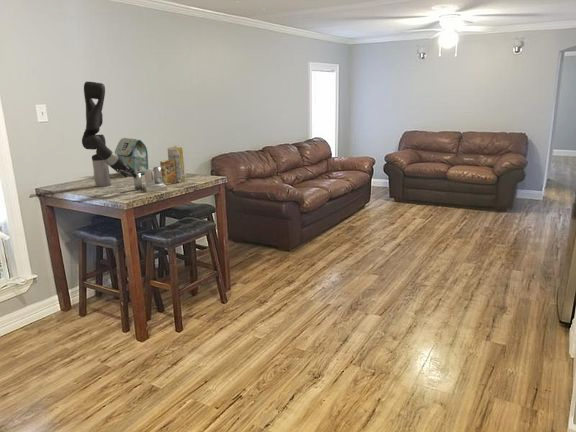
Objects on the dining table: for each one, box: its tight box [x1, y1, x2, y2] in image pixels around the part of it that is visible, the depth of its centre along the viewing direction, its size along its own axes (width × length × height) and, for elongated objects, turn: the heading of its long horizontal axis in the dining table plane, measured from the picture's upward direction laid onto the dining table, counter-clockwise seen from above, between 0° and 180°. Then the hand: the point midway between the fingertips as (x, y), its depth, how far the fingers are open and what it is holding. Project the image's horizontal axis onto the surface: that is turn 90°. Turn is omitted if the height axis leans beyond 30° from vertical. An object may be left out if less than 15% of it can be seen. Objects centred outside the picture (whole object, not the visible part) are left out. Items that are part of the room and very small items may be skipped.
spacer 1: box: [133, 173, 143, 191], centre depth 278 cm, size 4×4×10 cm
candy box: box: [159, 159, 178, 186], centre depth 293 cm, size 9×4×15 cm, turn 146°
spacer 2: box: [152, 166, 162, 184], centre depth 278 cm, size 4×4×10 cm
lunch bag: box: [114, 137, 150, 176], centre depth 335 cm, size 23×16×27 cm
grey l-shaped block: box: [142, 168, 168, 193], centre depth 278 cm, size 12×15×11 cm
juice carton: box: [167, 145, 186, 183], centre depth 300 cm, size 9×8×24 cm
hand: (131, 176), depth 274 cm, fingers open, 8 cm apart
